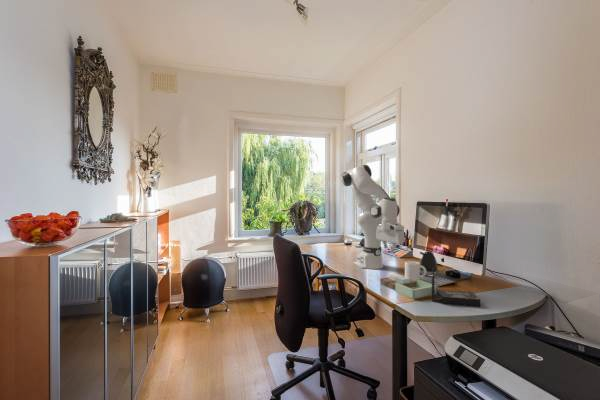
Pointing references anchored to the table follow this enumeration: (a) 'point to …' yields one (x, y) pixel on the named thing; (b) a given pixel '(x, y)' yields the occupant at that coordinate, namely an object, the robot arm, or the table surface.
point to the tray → (416, 290)
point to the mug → (413, 270)
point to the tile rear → (394, 276)
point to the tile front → (402, 280)
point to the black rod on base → (455, 297)
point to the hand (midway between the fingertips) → (389, 249)
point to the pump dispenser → (428, 263)
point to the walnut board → (391, 283)
